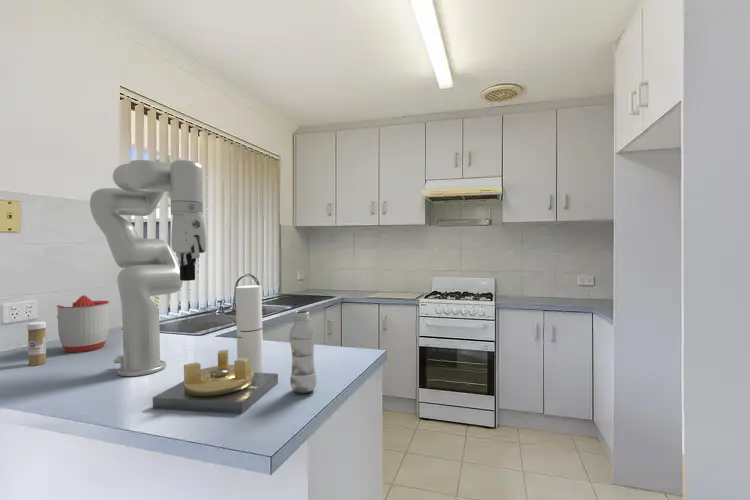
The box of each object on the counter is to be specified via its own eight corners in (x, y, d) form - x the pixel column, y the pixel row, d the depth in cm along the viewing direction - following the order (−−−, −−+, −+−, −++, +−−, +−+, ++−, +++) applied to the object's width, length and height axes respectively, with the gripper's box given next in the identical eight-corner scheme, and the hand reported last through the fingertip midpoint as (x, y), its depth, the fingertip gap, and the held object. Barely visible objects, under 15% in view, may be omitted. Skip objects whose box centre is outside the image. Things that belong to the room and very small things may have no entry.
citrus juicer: (79, 343, 152) (78, 292, 152) (120, 343, 150) (119, 292, 150) (41, 354, 137) (39, 298, 136) (86, 355, 135) (85, 298, 135)
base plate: (152, 408, 88) (152, 395, 88) (203, 379, 107) (202, 369, 107) (242, 413, 85) (242, 400, 85) (278, 382, 104) (277, 372, 103)
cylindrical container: (255, 376, 109) (253, 288, 109) (232, 375, 111) (230, 287, 110) (267, 368, 116) (265, 285, 116) (245, 367, 118) (244, 285, 117)
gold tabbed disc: (227, 398, 86) (226, 369, 86) (168, 392, 90) (167, 365, 90) (266, 375, 102) (265, 350, 101) (214, 371, 106) (213, 347, 106)
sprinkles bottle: (25, 366, 123) (24, 324, 122) (31, 362, 127) (30, 322, 127) (43, 364, 124) (42, 323, 124) (49, 361, 128) (48, 320, 128)
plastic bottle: (305, 398, 93) (303, 315, 92) (284, 393, 96) (282, 312, 96) (322, 389, 98) (320, 310, 98) (302, 385, 102) (300, 309, 101)
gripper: (215, 209, 98) (216, 281, 99) (188, 211, 108) (188, 277, 108) (185, 207, 92) (186, 283, 93) (159, 210, 102) (160, 279, 102)
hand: (187, 280), depth 101 cm, fingers closed
